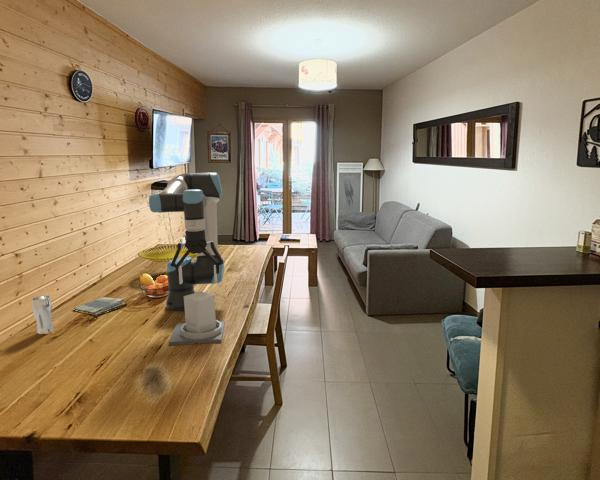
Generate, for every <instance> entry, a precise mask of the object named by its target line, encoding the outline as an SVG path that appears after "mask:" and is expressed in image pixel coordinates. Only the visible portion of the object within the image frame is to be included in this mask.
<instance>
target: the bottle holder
mask: <svg viewBox="0 0 600 480" xmlns="http://www.w3.org/2000/svg"><path fill="white" fill-rule="evenodd" d="M225 325H226V321H225V320H220V321H219V320H218V319H216V329H215V330H214V331H210V332H206V333H195V334H194V333H189V332H187V331H186V322H181V323H176V325H175V327H174V329H173V331H172V334H171V336H170V338H169V340H168V346H177V345H178V344H181V345H194V344H195V343H198V344H211V343H212V344H213V343H222V341H223V335H224V329H225ZM178 346H179V345H178Z"/></svg>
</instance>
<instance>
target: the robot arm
mask: <svg viewBox="0 0 600 480" xmlns="http://www.w3.org/2000/svg"><path fill="white" fill-rule="evenodd" d="M221 197H223V188H222V183H221V177H220V175H219V173H217V172H187V173H182V174H178V175H176V176H175V177H172V178H171V179H169V181H168V182H167V185H166V187H165V188H164V189H163V190H162V191H161V192H160V193H158V192H157V193H151V194H150V195H149V197H148V205H149V206H148V207H149V210H150V211H151V213H159V214H160V213H183V215H184V216H183V217H184V229H185V235H184V236H185V242H182V241H179V242H178V243H177V245H178V249H177V251H176V250H175V252H176V253H175V256H174V258H173V260H171V261H169V262H166V263H167V264H166V273H167V276H168V278H167V285H168V286H167V287H168V294H167V297H166V300H165V308H166V309H167V310H170V311H176V312H177V311H178V312H179V311H181V312H182V311H185V307H184V296H187V295H190V294H194V293H196V291H195V288H194V285H209V284H211V285H213V284H220V283H222V281H223V279H224V273H225V259H224V258H222V254H221V253H220V252H219V245H218V244H219V242H218V213H217V212H218V211H217V210H218V209H217V203H219V201H220V198H221ZM184 247H186V248H187V250H186V251H187V252H186V253H185V254H184V255H183V257H180V258H178V255H179V253H180V251H181V248H183V249H184ZM186 248H185V249H186ZM181 252H182V251H181ZM189 253H192V254H195V253H198V255H197V256H196V259H193V258H191V257H187V256H188V254H189Z"/></svg>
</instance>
